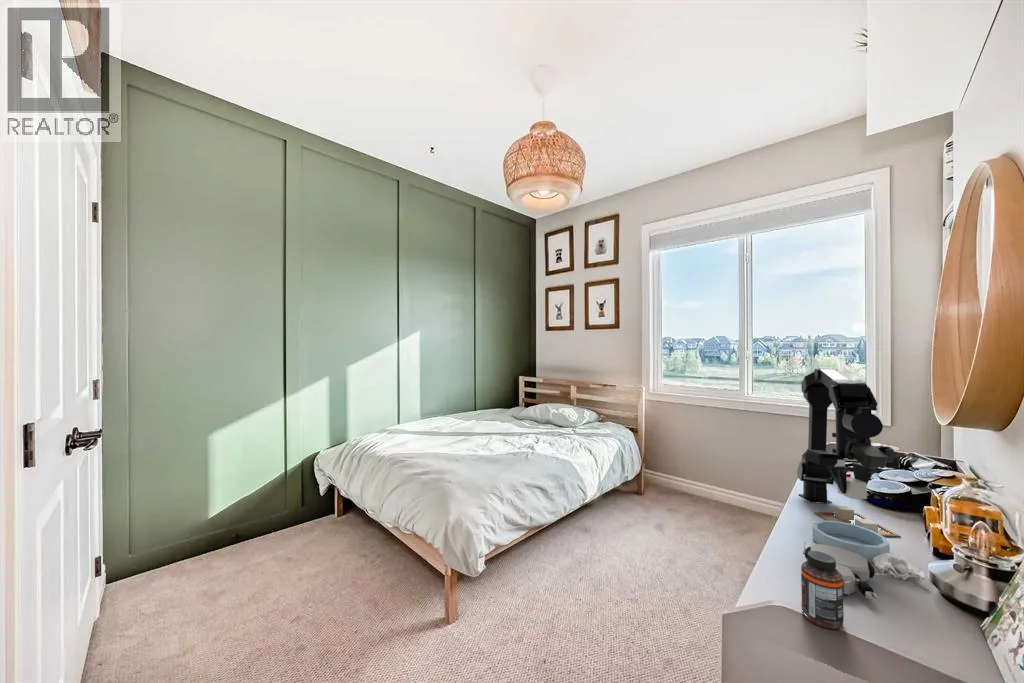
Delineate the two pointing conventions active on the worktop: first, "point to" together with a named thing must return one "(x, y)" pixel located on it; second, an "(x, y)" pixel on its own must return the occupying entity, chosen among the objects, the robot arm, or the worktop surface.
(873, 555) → the bowl
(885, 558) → the white animal skull
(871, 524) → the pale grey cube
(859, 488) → the beige cube
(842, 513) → the tan cube
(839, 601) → the supplement bottle
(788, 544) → the worktop surface
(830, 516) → the tray
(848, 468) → the robot arm
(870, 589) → the robot toy
